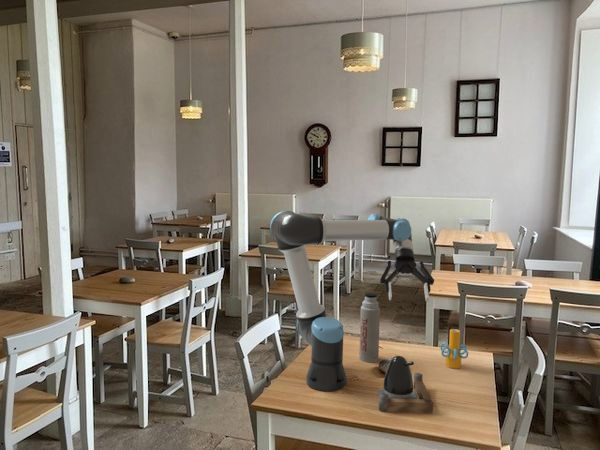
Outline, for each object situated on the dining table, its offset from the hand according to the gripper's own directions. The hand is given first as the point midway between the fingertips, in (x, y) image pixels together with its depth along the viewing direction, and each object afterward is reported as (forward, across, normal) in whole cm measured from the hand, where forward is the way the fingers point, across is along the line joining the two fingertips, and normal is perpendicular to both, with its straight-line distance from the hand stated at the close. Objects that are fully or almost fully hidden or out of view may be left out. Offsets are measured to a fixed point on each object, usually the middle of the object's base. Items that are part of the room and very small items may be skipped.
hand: (408, 299), depth 185 cm
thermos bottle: (+7, +12, -38) cm, 40 cm away
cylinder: (+11, -22, -34) cm, 42 cm away
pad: (+34, +5, -11) cm, 36 cm away
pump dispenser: (+33, +5, -11) cm, 36 cm away
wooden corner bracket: (+33, +4, -12) cm, 35 cm away
